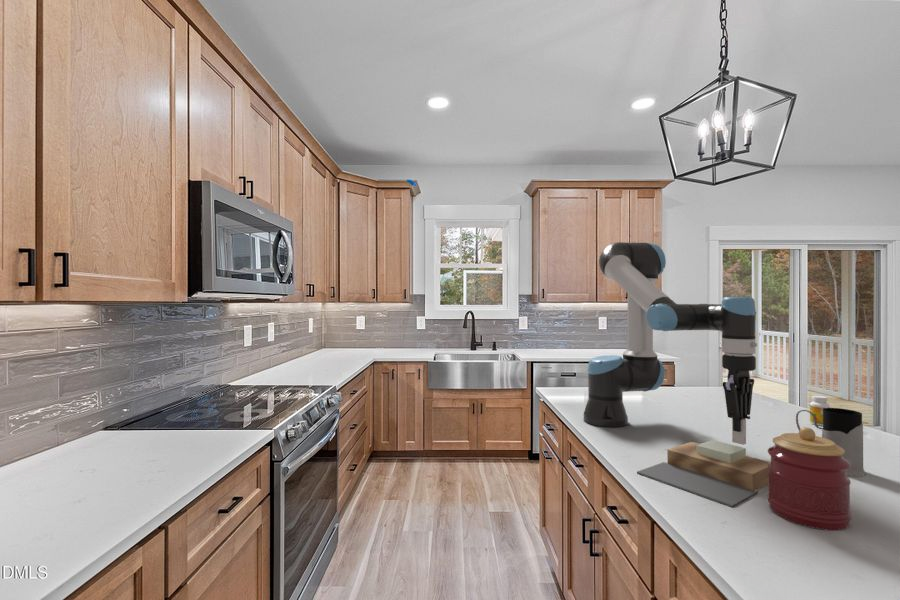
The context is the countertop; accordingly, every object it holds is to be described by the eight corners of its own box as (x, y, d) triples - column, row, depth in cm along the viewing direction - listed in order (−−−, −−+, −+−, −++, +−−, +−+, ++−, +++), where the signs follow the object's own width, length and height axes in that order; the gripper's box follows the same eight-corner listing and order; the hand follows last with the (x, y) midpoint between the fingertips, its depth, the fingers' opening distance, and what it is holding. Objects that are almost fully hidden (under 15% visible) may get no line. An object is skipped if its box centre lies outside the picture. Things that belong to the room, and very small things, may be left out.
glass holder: (859, 479, 106) (858, 417, 106) (789, 461, 118) (789, 405, 118) (871, 471, 111) (870, 412, 111) (803, 455, 123) (802, 401, 123)
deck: (667, 464, 116) (667, 449, 116) (691, 455, 122) (691, 441, 122) (752, 491, 99) (752, 474, 99) (775, 480, 106) (775, 463, 106)
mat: (636, 473, 110) (636, 471, 110) (663, 463, 117) (663, 462, 117) (732, 507, 92) (732, 505, 92) (757, 493, 98) (757, 491, 98)
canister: (827, 538, 80) (826, 440, 80) (753, 507, 92) (753, 423, 92) (865, 523, 85) (865, 432, 85) (791, 496, 97) (790, 416, 97)
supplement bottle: (806, 421, 157) (806, 394, 157) (822, 422, 157) (822, 395, 157) (816, 426, 152) (816, 398, 152) (833, 426, 151) (833, 398, 151)
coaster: (696, 453, 112) (696, 445, 112) (712, 448, 117) (712, 439, 117) (730, 463, 106) (730, 454, 106) (745, 456, 110) (745, 448, 110)
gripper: (742, 357, 110) (743, 451, 110) (765, 354, 117) (766, 442, 117) (711, 354, 117) (712, 443, 116) (734, 351, 124) (735, 435, 124)
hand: (739, 442), depth 117 cm, fingers closed
